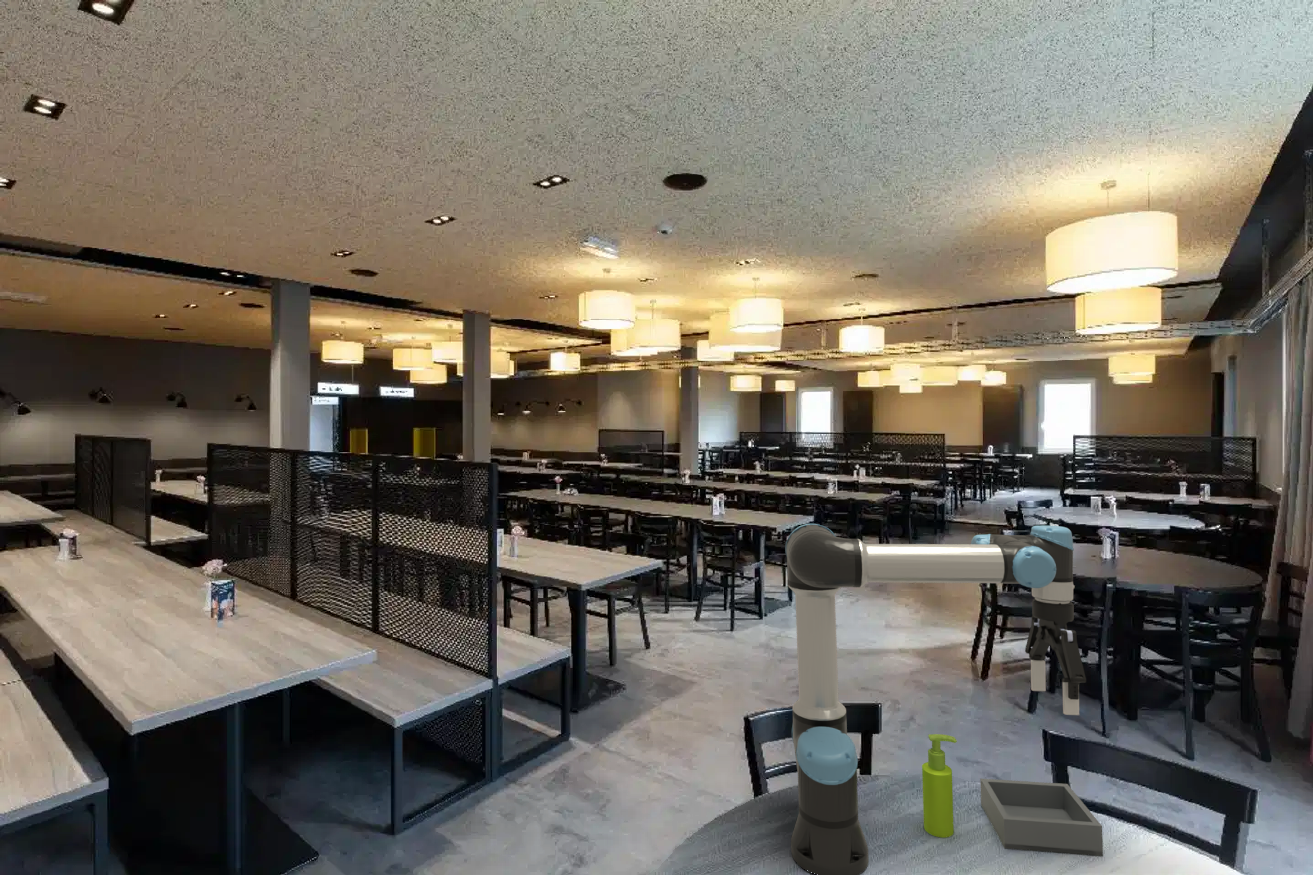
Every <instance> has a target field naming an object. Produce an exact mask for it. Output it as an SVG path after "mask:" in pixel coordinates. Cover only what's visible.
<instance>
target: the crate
mask: <svg viewBox="0 0 1313 875" xmlns="http://www.w3.org/2000/svg"><path fill="white" fill-rule="evenodd" d="M979 779H980V780H979V782H980V806H981V808H982V809H983V811H984V813H985V815H986V816H987V819H988V820H989V823H990V824H991V826H992V828H993V830H994V831H995V834H996V835H997V838H998V839H999V841H1000V843H1001V844H1002V846H1003V848H1004V849H1006V850H1016V851H1017V850H1018V851H1027V852H1028V851H1030V852H1042V853H1043V852H1045V853H1053V854H1054V853H1057V854H1068V855H1078V856H1079V855H1082V856H1093V857H1103V856H1104V848H1103V846H1104V845H1103V844H1104V842H1103V825H1102V824H1101V823H1100V822H1099V820H1098V819H1097V818H1096V817H1095V816H1094V814H1093V812H1091V810H1090V809H1089V808H1088V807H1087V805H1086V804H1084V802H1083V801H1082V800H1081V799H1080V798H1079V796H1078V795H1077V794H1076V792H1075V791H1074V790H1073V789H1072V788H1071V786H1070V785H1069V784H1068V783H1058V782H1057V783H1056V782H1045V781H1043V782H1042V781H1026V780H1025V781H1023V780H1013V779H1012V780H1009V779H1008V780H1007V779H997V778H995V779H993V778H979Z"/></svg>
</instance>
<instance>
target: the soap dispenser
mask: <svg viewBox="0 0 1313 875" xmlns="http://www.w3.org/2000/svg"><path fill="white" fill-rule="evenodd" d="M927 737H928V739H929V742H931V748H929V749H928V750H927V760H928V761H927V762H924V763H923V764H922V765H921V770H922V771H921V772H922V780H921V781H922V807H923V808H922V812H923V828H924V831H925V832H926V833H927V834H929V835H930V836H933V837H937V838H940V839H941V838H942V839H945V838H951V837H952V836H953V835H954V832H955V831H954V830H955V829H954V828H955V827H954V799H953V798H954V797H953V796H954V795H953V769H952V768H951V767H950V766H949V765H947V764H946V752H945V751H944V750H943V749H941V747H942V746H941V742H949V743H953V744H956V743H957V742H958V740H957V739H956V737H954V736H952V735H948V734H942V733H941V734H939V733H938V734H937V733H934V734H933V733H932V734H930V733H929V734H927Z"/></svg>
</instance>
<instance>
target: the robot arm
mask: <svg viewBox="0 0 1313 875" xmlns="http://www.w3.org/2000/svg"><path fill="white" fill-rule="evenodd" d="M784 550H785V556H786V562H787V566H786V567H787V585H788V588H789V589H790V590H791V591H792V592H793V593H794V594H795V622H796V643H797V645H796V646H797V647H796V649H797V675H798V676H797V679H798V699H797V700H796V701H795V702H794V703H793V704H792V727H791V740H792V743H793V749H794V755H795V761H796V770H797V787H798V788H797V790H798V792H797V793H798V795H797V796H798V815H797V818H796V821H795V825H794V827H793V828H794V829H793V831H792V835H791V837H790V850H791V852H790V853H791V856H792V858H793V860H794V862H795V861H796V862H797V863H796V862H795V863H796V864H797V865H798V866H799V867H800V866H801V867H800V868H802V869H803V870H804V869H805V871H806V870H808V871H809V872H808V871H807V872H808V873H810V872H812V873H815V874H818V875H861V874H862V873H863V872H865V870H866V869H867V867H868V865H869V860H870V859H869V847H868V846H869V845H868V842H867V841H866V837H865V834H864V831H863V829H862V826H861V823H860V820H859V800H858V799H859V798H858V797H859V796H858V794H859V793H858V764H859V763H858V762H859V761H858V760H859V759H858V753H857V749H856V745H855V743H854V741H853V740H852V738H851V736H850V735H848V729H847V727H848V726H847V725H848V724H847V708H846V707H845V705H843V703H842V702H840V700H839V680H838V679H839V677H838V674H839V673H838V646H837V642H838V641H837V623H836V622H837V621H836V620H837V618H836V616H837V615H836V594H837V592H839V591H840V590H841V588H862V587H864V586H865V585H866V584H867V583H913V584H914V583H921V584H922V583H927V584H928V583H929V584H930V583H931V584H933V583H934V584H935V583H937V584H939V583H940V584H942V583H943V584H944V583H945V584H954V583H955V584H1011V585H1012V584H1019V585H1021V586H1023V587H1026V588H1030V589H1031V596H1032V597H1033V599H1032V601H1031V606H1032V607H1031V609H1032V610H1031V611H1032V612H1031V614H1032V616H1031V623H1030V624H1031V625H1030V630H1029V633H1028V637H1027V642H1026V645H1025V649H1024V650H1025V651H1024V652H1025V654H1028V657H1029V659H1030V689H1031V691H1033V692H1046V682H1047V681H1046V679H1047V678H1046V660H1047V658H1046V653H1047V651H1048V649H1050V648H1049V647H1051V650H1053V651H1054V652H1055V654H1056V657H1057V660H1058V664H1059V666H1060V668H1061V671H1062V674H1063V678H1062V679H1061V682H1062V714H1064V715H1067V716H1080V683H1087V677H1086V674H1085V669H1084V665H1083V662H1082V657H1081V653H1080V649H1079V644H1078V639H1077V632H1076V630H1068V626H1067V624H1068V623H1070V622H1073V621H1074V619H1075V613H1074V612H1075V611H1074V610H1075V608H1074V607H1075V605H1074V603H1073V602H1072V601H1073V600H1074V589H1075V586H1076V585H1074V573H1073V572H1074V551H1075V550H1074V540H1073V533H1072V531H1071V530H1070V529H1069V528H1068V527H1065V526H1058V525H1045V524H1043V525H1034V526H1032V527H1031V532H1030V533H1029V534H1025V535H1024V534H1023V535H1022V534H1021V535H1019V534H1018V535H1016V534H1015V535H1014V534H1013V535H1012V534H992V533H988V534H976V535H974V536H973V537H972V539H971V541H970V544H969V543H968V544H967V543H964V544H961V543H960V544H959V543H957V544H955V543H954V544H953V543H948V544H947V543H945V544H943V543H938V544H937V543H935V544H933V543H932V544H931V543H929V544H928V543H927V544H926V543H925V544H923V543H921V544H920V543H919V544H918V543H915V544H914V543H903V544H902V543H864V542H863V541H862V540H861V539H859V538H845V537H844V538H843V537H839V536H836V534H834V532H833V531H832V530H831V529H829V528H828V527H827V526H824V525H820V524H817V523H805V524H802V525H800V526H798V527H796V528H795V529H794V530H793V531H792V532H790V534H789V536H788V537H787V539H786V542H785V549H784ZM812 873H811V874H812Z"/></svg>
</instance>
